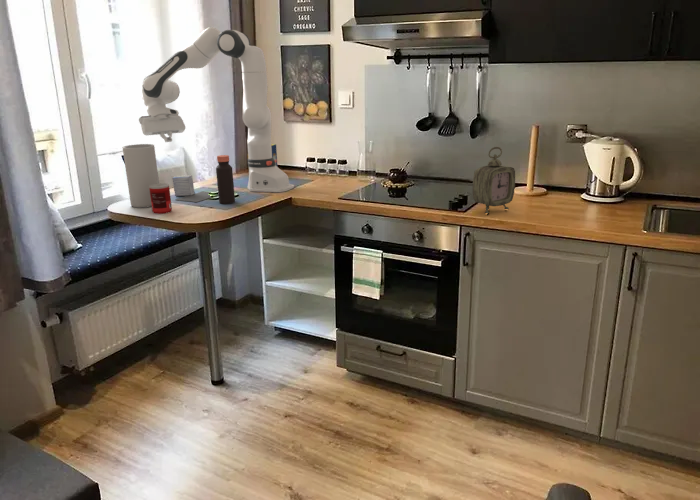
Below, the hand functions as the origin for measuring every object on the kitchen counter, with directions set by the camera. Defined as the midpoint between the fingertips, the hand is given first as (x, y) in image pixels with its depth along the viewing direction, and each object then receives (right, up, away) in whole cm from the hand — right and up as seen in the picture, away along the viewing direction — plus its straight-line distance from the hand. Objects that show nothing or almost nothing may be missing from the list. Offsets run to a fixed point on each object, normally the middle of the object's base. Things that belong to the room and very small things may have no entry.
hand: (168, 141), depth 265 cm
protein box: (+38, -10, +41) cm, 57 cm away
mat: (+16, -27, -8) cm, 32 cm away
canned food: (+8, -35, -32) cm, 48 cm away
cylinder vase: (-3, -31, -20) cm, 37 cm away
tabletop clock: (+139, -36, -45) cm, 150 cm away
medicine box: (+9, -26, -4) cm, 27 cm away
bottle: (+31, -30, -19) cm, 47 cm away
